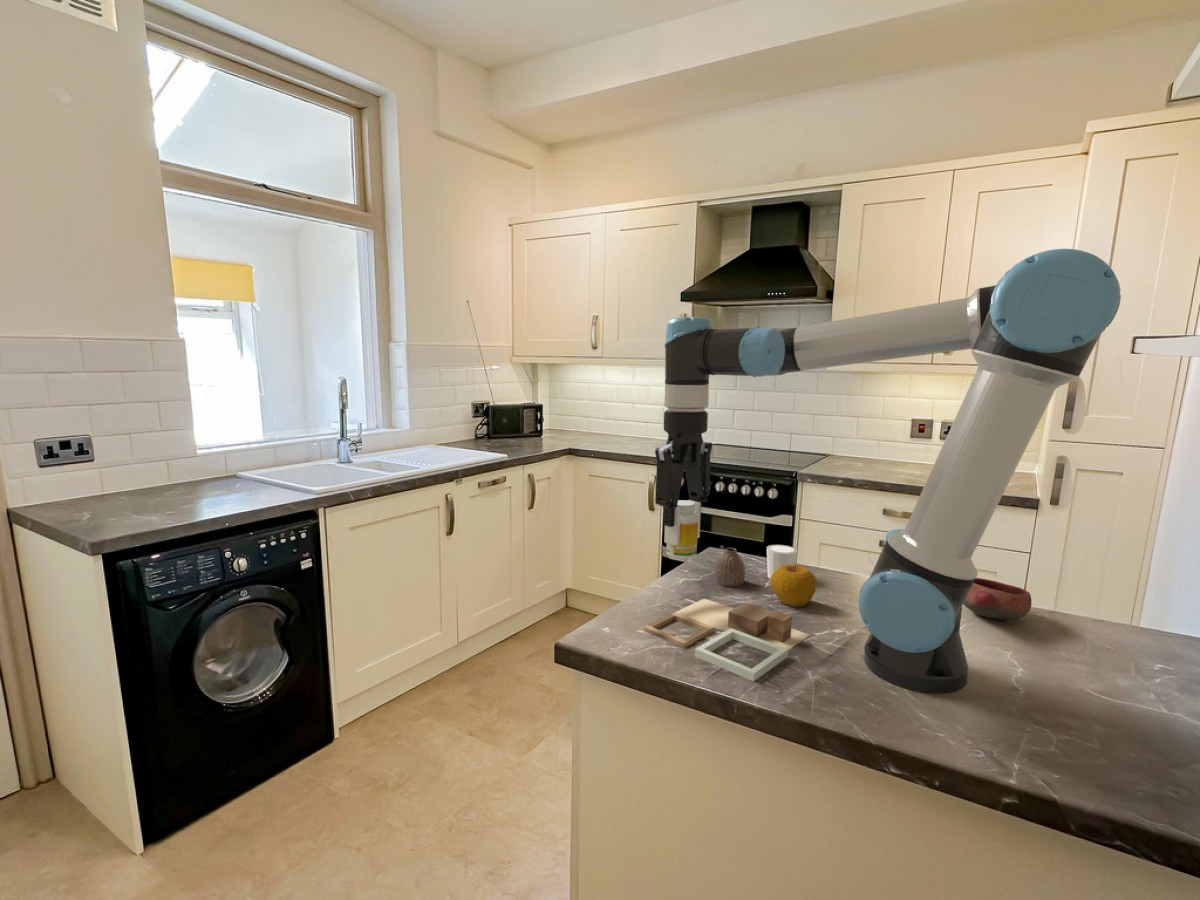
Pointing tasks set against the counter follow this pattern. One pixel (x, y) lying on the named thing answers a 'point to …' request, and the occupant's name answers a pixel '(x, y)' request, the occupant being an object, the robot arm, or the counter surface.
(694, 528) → the supplement bottle
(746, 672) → the tray
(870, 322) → the robot arm
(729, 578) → the vase
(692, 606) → the board
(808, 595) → the apple
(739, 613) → the walnut block
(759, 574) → the counter surface
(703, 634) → the oak collar
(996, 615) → the bowl
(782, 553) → the white cylinder
